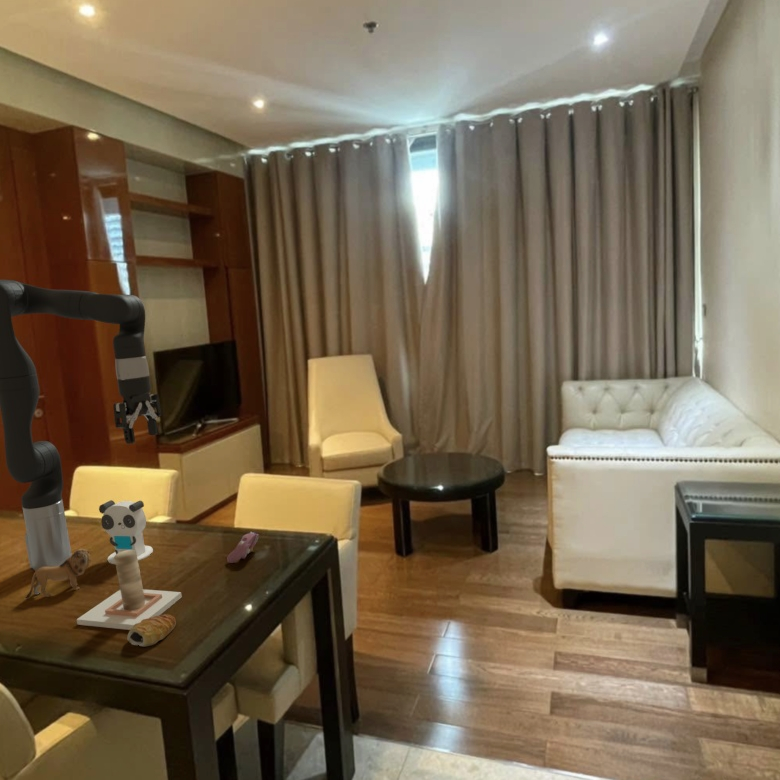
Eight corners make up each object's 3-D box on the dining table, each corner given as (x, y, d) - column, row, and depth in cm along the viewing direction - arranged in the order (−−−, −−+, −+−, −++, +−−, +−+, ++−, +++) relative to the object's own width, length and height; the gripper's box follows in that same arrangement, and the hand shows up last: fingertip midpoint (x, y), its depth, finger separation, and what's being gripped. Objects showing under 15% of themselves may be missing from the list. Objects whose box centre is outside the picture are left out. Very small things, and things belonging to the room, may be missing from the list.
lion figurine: (93, 577, 150) (88, 543, 149) (95, 585, 145) (90, 550, 144) (25, 596, 143) (19, 560, 141) (25, 605, 138) (19, 568, 137)
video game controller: (240, 570, 151) (249, 546, 150) (224, 562, 152) (233, 538, 150) (255, 553, 161) (264, 531, 159) (240, 546, 161) (249, 524, 160)
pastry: (161, 620, 127) (159, 603, 126) (185, 626, 124) (182, 609, 123) (124, 644, 118) (122, 626, 118) (148, 651, 115) (146, 633, 115)
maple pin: (119, 609, 130) (109, 558, 128) (133, 598, 134) (124, 549, 132) (135, 611, 128) (125, 559, 126) (149, 600, 132) (140, 550, 130)
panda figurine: (96, 563, 159) (87, 509, 156) (125, 545, 169) (117, 494, 167) (134, 565, 155) (126, 510, 153) (161, 547, 166) (154, 495, 164)
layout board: (77, 624, 127) (76, 615, 127) (123, 592, 140) (122, 584, 140) (140, 630, 123) (139, 621, 122) (181, 597, 136) (180, 588, 136)
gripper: (139, 372, 156) (148, 432, 159) (99, 380, 143) (109, 446, 145) (164, 371, 154) (172, 432, 157) (125, 379, 141) (135, 446, 143)
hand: (142, 438), depth 151 cm, fingers open, 8 cm apart
